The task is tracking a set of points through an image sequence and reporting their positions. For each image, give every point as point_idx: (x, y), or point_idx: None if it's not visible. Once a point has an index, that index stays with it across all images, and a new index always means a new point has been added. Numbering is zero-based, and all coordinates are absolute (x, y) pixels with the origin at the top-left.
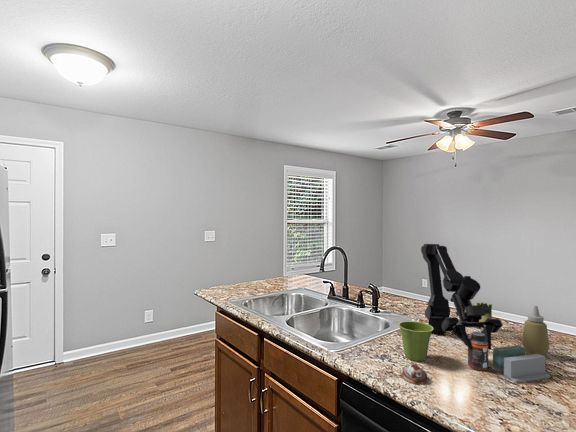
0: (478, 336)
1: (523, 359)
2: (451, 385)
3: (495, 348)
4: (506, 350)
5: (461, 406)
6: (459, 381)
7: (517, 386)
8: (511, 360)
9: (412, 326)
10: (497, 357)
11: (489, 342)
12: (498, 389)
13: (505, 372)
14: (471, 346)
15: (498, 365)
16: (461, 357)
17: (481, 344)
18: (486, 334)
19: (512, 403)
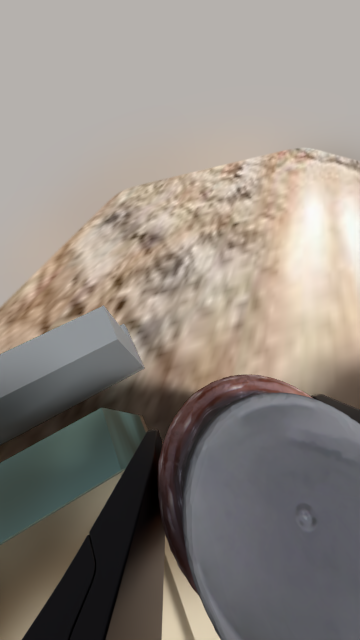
0: (297, 398)
1: (17, 347)
2: (339, 258)
3: (102, 467)
4: (32, 446)
5: (309, 187)
6: (315, 288)
7: (133, 307)
8: (96, 313)
9: None
10: (125, 423)
11: (140, 469)
12: (201, 274)
13: (136, 355)
14: (319, 398)
15: (136, 417)
16: None
17: (243, 375)
18: (115, 635)
19: (191, 224)
